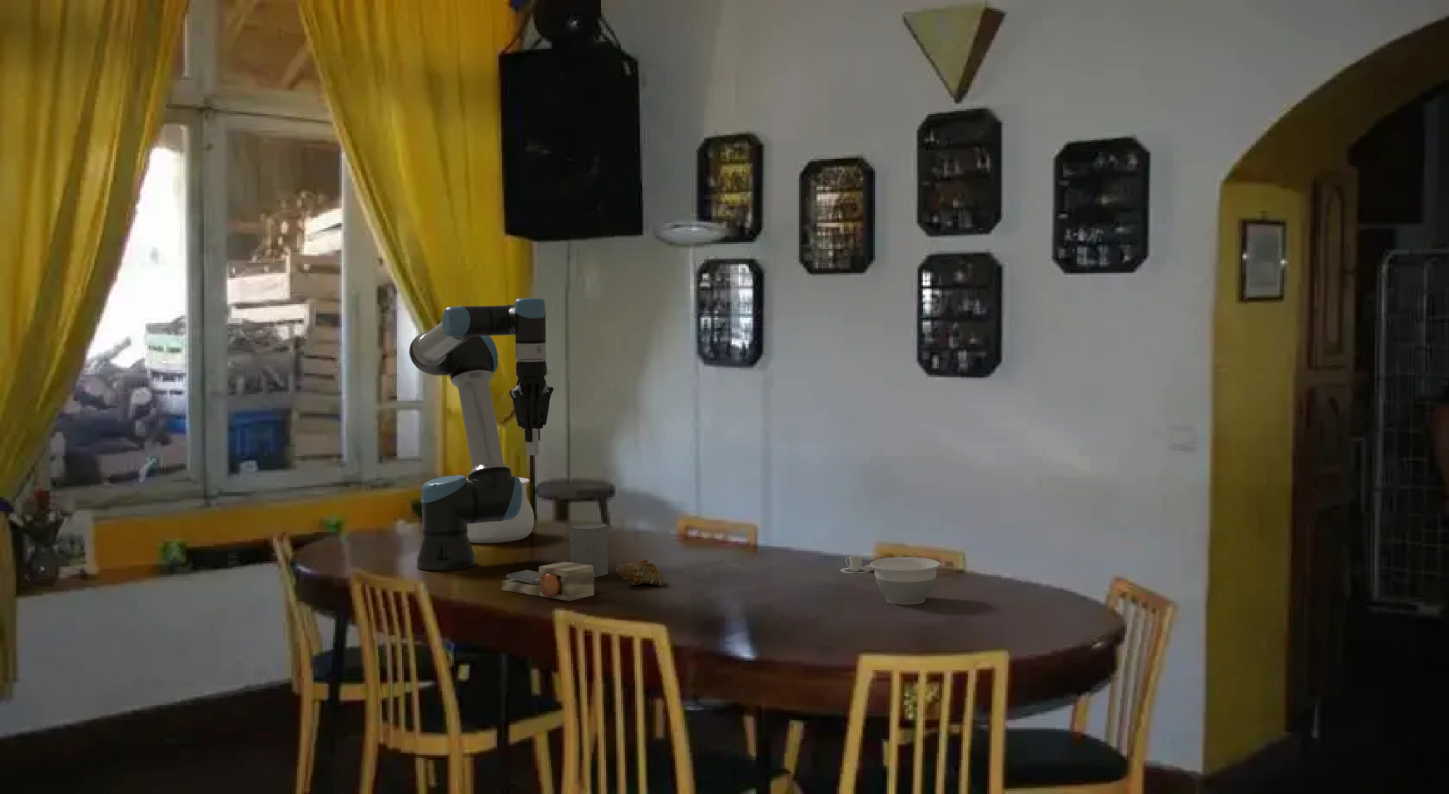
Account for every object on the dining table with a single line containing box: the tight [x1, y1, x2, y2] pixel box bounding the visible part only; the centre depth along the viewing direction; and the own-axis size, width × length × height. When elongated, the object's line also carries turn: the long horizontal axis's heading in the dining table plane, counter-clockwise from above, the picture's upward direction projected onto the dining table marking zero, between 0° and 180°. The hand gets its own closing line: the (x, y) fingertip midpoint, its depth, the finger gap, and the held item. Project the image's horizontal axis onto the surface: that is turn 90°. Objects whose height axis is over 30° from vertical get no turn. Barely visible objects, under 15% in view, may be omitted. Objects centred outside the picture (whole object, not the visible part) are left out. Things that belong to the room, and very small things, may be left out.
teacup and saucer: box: [840, 554, 875, 574], centre depth 366 cm, size 9×8×4 cm
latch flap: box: [505, 569, 539, 585], centre depth 349 cm, size 11×7×1 cm, turn 51°
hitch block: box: [501, 561, 595, 602], centre depth 346 cm, size 23×8×7 cm, turn 51°
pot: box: [466, 476, 535, 544], centre depth 429 cm, size 26×24×17 cm
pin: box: [540, 572, 596, 598], centre depth 343 cm, size 5×14×5 cm, turn 141°
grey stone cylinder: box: [568, 522, 609, 578], centre depth 369 cm, size 10×10×12 cm
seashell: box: [615, 559, 666, 587], centre depth 353 cm, size 9×8×10 cm
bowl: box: [869, 556, 942, 606], centre depth 329 cm, size 16×16×9 cm
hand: (532, 454), depth 363 cm, fingers closed
